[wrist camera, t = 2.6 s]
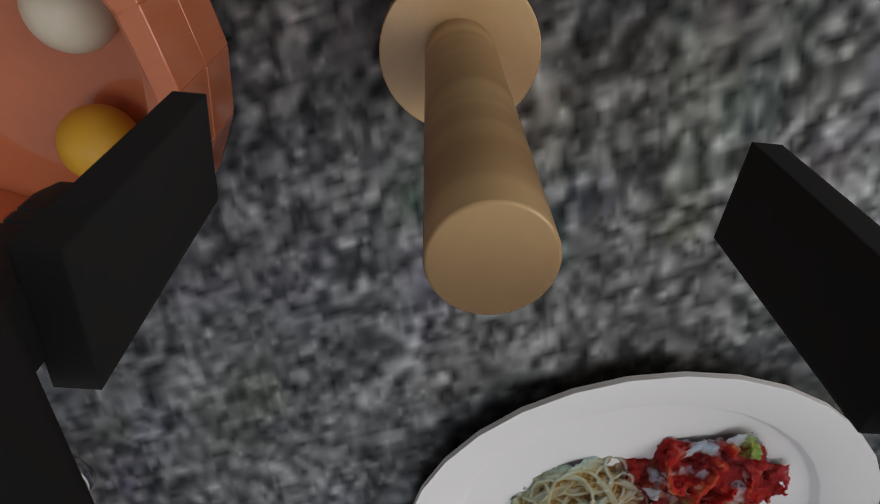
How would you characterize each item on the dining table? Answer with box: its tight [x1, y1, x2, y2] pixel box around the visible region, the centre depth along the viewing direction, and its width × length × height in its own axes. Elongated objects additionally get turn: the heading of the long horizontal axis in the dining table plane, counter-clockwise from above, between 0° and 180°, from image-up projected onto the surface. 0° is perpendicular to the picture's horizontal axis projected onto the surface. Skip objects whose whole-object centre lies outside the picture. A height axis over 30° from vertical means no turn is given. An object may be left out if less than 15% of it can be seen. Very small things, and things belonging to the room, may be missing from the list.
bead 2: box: [55, 104, 136, 177], centre depth 24 cm, size 3×3×3 cm
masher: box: [379, 0, 562, 315], centre depth 18 cm, size 6×6×15 cm
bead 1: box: [17, 0, 118, 54], centre depth 21 cm, size 3×3×3 cm
